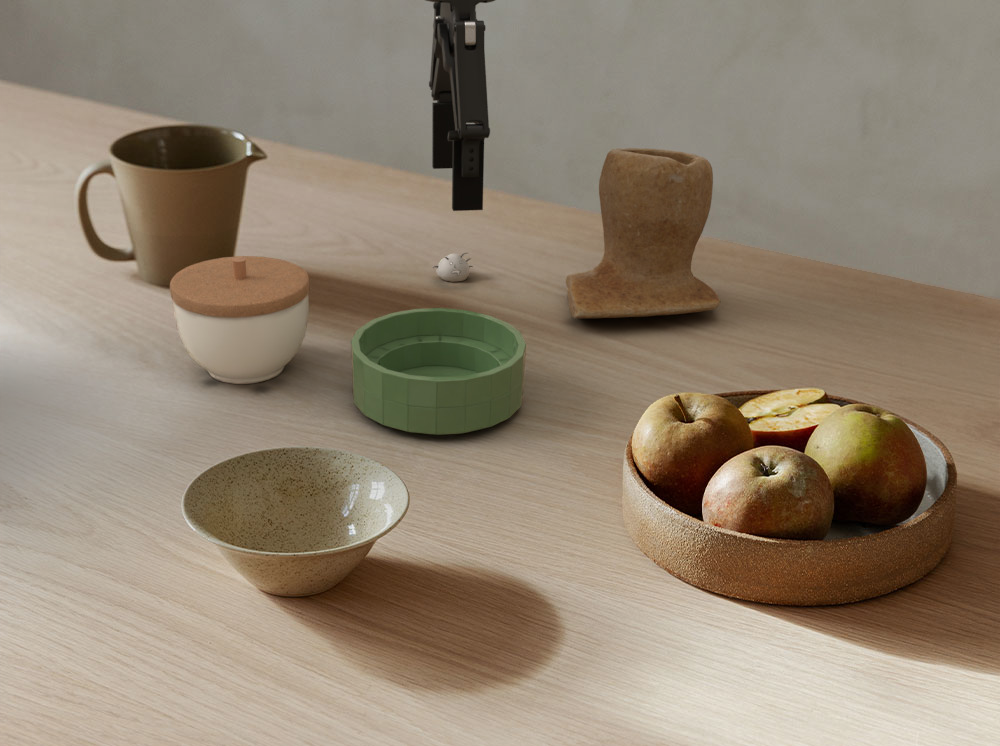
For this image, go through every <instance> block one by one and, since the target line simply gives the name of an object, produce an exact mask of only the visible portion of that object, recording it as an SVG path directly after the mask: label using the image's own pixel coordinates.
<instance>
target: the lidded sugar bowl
mask: <svg viewBox="0 0 1000 746" xmlns="http://www.w3.org/2000/svg"><path fill="white" fill-rule="evenodd" d="M310 289H311V287H310V276H309V275H308V273H307V271H306V270H304V268H302V267H301V266H299V265H297V264H295V263H293V262H290V261H287V260H284V259H279V258H275V257H266V256H257V255H255V256H254V255H238V256H225V257H218V258H213V259H212V258H211V259H208V260H203V261H200V262H196V263H193V264H191V265H189V266H186V267H184V268H183V269H180V270H179V271H178V272H176V273H175V274H174V276H173V277H172V278H171V280H170V282H169V293H170V298H171V300H172V307H173V313H174V321H175V325H176V328H177V329H176V330H177V332H178V334H179V338H180V340H181V343H182V345H183V347H184V348H185V350H186V352H187V353H188V354H189V356H190V357H191V358H192V360H193V361H194V362H196V364H198V365H199V366H200V367H202V368H203V369H205V370H206V371H207V372H208V374H209V376H211V377H212V378H213V379H215V380H217V381H220V382H223V383H227V384H233V385H235V384H236V385H249V384H256V383H262V382H265V381H268V380H270V379H271V380H272V379H273V378H275V377H278V376H279V375H280V374H281V373H282V372H283V370H284V369H285V366H286V365H287V364H289V362H291V361H292V359H293V358H294V357H295V356H296V355H297V353H298V351H299V350H300V348H301V347H302V344H303V342H304V339H305V338H306V334H307V333H306V332H307V327H308V322H309V320H308V319H309V312H310V311H309V309H310V307H309V306H310V305H309V303H310V301H309V299H310V298H309V292H310Z"/></svg>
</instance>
